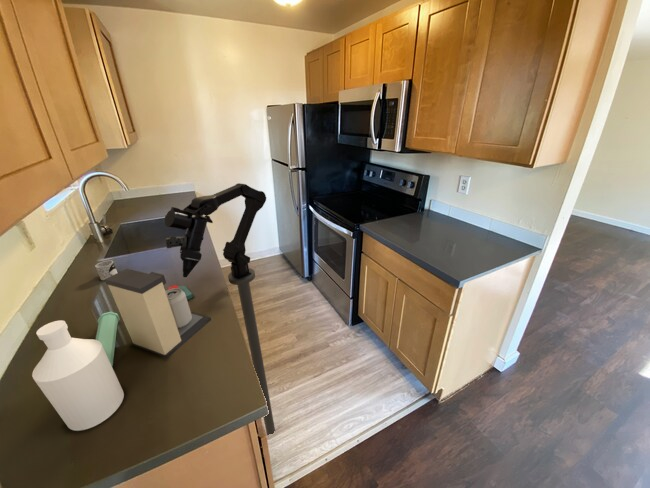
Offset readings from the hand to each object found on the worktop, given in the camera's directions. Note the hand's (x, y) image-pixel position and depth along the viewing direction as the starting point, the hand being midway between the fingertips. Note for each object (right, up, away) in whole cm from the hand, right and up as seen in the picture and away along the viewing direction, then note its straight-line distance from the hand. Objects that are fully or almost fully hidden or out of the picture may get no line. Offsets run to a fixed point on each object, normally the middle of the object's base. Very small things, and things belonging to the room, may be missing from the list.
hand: (184, 274), depth 99 cm
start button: (-9, -8, +9) cm, 15 cm away
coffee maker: (0, -18, -7) cm, 20 cm away
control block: (-9, -11, +11) cm, 17 cm away
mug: (-50, -4, +30) cm, 58 cm away
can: (+1, -16, -5) cm, 17 cm away
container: (-17, -22, -13) cm, 31 cm away
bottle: (-6, -29, -31) cm, 43 cm away
